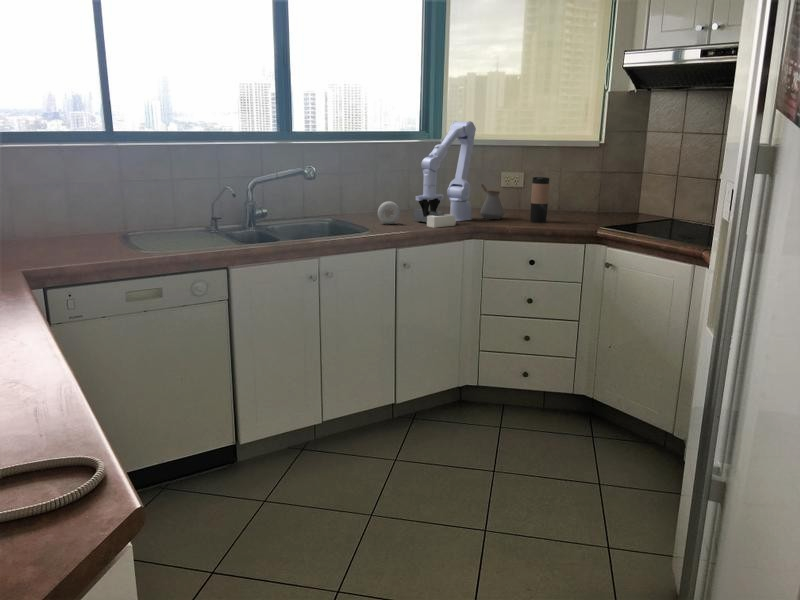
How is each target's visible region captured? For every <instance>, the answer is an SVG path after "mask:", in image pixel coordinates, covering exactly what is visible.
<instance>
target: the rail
mask: <svg viewBox="0 0 800 600" xmlns="http://www.w3.org/2000/svg"><path fill="white" fill-rule="evenodd" d="M444 214H445V212H444V211H439V210H436V211H433V210H430V209H428V216H432V215H433V216H444ZM413 220H414V221H419V222H423V223H427V217H424V216H423V211H422V208H421V207H420V208H414V210H413Z"/></svg>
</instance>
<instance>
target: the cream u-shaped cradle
mask: <svg viewBox="0 0 800 600" xmlns="http://www.w3.org/2000/svg"><path fill="white" fill-rule="evenodd" d="M456 222H457V221H456V215H452V214H450V213H446V214H445V213H444V216H433V215H432V216H427V222H426V227H428V228H434V229H435V228H444V227H452V226H453V227H454V226H456V225H457V224H456Z"/></svg>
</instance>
